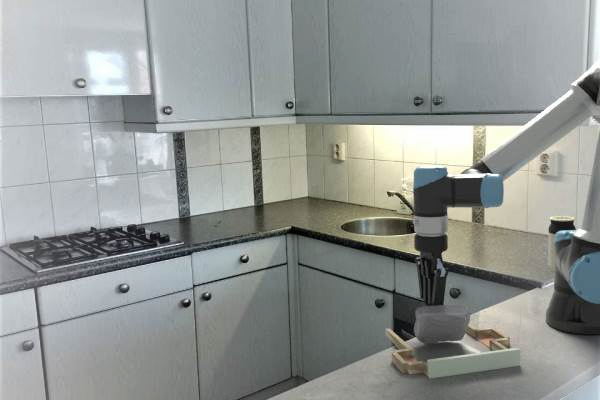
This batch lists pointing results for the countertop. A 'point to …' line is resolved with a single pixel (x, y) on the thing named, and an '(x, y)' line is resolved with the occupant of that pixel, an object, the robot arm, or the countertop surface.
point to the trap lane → (461, 363)
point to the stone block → (441, 323)
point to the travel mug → (556, 225)
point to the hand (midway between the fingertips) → (431, 332)
